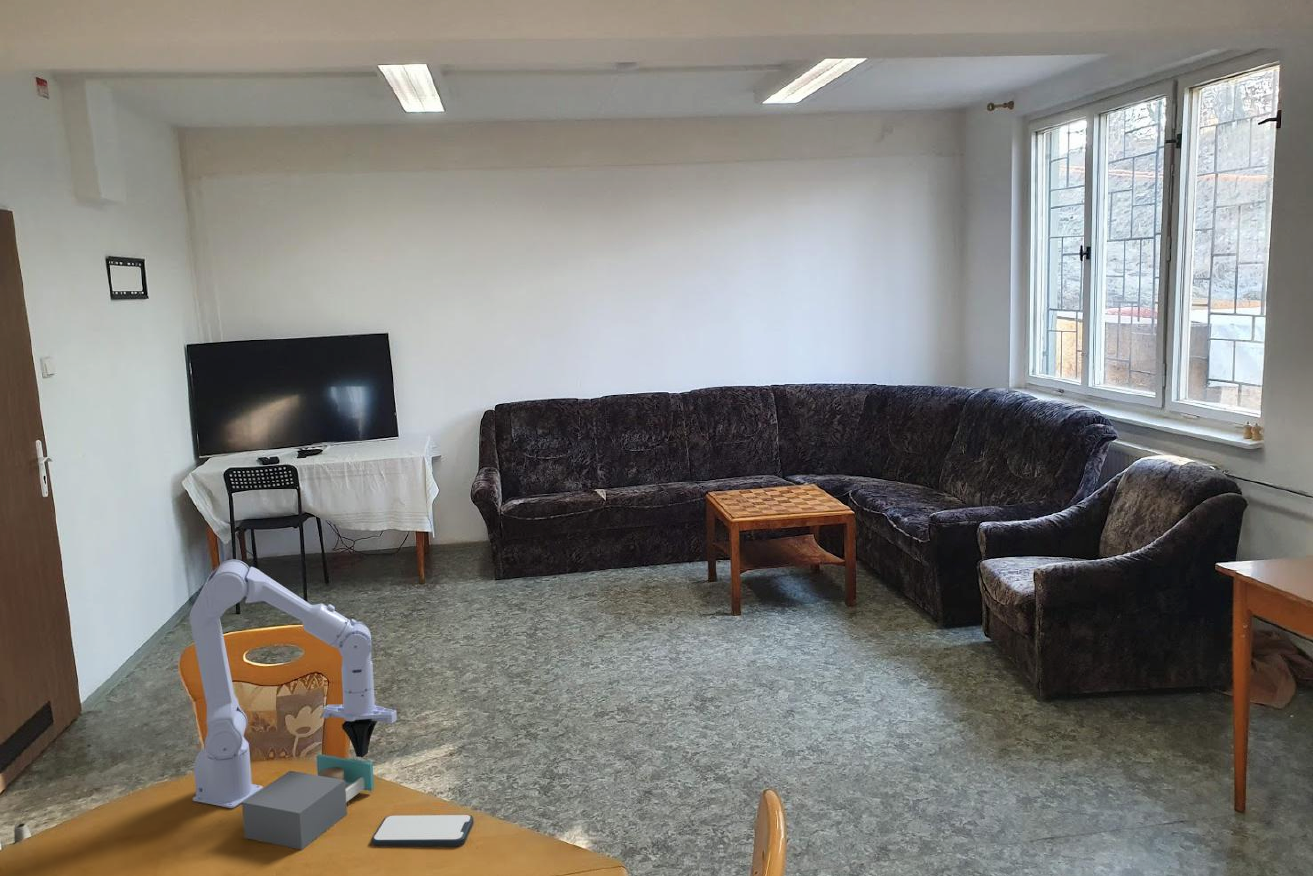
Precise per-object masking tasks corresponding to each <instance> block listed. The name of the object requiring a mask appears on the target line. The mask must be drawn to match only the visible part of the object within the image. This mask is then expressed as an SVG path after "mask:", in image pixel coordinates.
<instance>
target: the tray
mask: <svg viewBox="0 0 1313 876" xmlns="http://www.w3.org/2000/svg"><path fill="white" fill-rule="evenodd" d="M331 767H339V768H342V769H343V770H344V780H345V788H346V803H347V802H349V801H350V800H351V799H353V798H354V797H355V796H357V795H358V794H359V793H361V792H362V791H363V790H364V791H368V792H369V791H370V792H372V791H374V790H375V783H374V779H375V778H374V766H373V762H371V761H364V760H358V759H354V758H353V759H352V758H346V757H341V756H334V755H328V754H324V753H323V754H322V753H319V754H317V755H316V769H317V770H316V771H317V774H318V773H319V772H320V771H322V770H324V769H326V768H331Z"/></svg>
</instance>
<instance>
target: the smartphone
mask: <svg viewBox="0 0 1313 876" xmlns="http://www.w3.org/2000/svg"><path fill="white" fill-rule="evenodd" d="M473 826H474V817H473V815H471V814H402V815H401V814H399V815H396V814H395V815H394V814H392V815H388V816H386V817H384V818H383V819H382V821H381V823H380V824H379V826H378V827H377V829H376V830H375V832H374V833H373V836H372V837H371V845H372V846H374V847H389V848H390V847H391V848H392V847H393V848H395V847H398V848H399V847H400V848H401V847H404V848H408V847H409V848H423V847H424V848H458V847H462V846H463V845H465V843H466V841H467V839H468V836H469V834H470V832H471V830H472V828H473Z"/></svg>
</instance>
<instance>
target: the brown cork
mask: <svg viewBox="0 0 1313 876" xmlns="http://www.w3.org/2000/svg"><path fill="white" fill-rule="evenodd" d="M317 775H318V776H324V777H329V778H335V779H341V780H344V770H343V769H342V768H339V767H331V768H326V769H324V770H322V771H320V772H319V773H318V772H317Z"/></svg>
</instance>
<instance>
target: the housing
mask: <svg viewBox="0 0 1313 876" xmlns="http://www.w3.org/2000/svg"><path fill="white" fill-rule="evenodd" d="M241 808H242V823H243V835H244V839H249V840H254V841H259V842H263V843H268V844H272V845H278V846H283V847H287V848H288V847H289V848H293V849H298V850H301V851H303V849H304V848H306V847H308V846H309V845H310V844H311V843H313V842H314V841H315V840H316V839H318V838H319V837H320V836H321V835H323V834H324V833H326V832H327V831H328V830H329V829H330V828H332V827H333V826H334V825H335V824H337V823H338V822H339V821H341V820H342V819H343V818H344V817H345V816H347V815H348V809H347V802H346V788H345V780H341V779H335V778H329V777H324V776H318V774H312V773H306V772H300V771H294V770H289V771H287V772H286V773H284V774H283V775H281V776H279V777H277V779H274V780H273V781H272V782H271V783H269V784H267V785H266V786H264V787H263V789H261V790H260V791H258V792H257V793H255V794H254V795H252V796H251V797H249V798H248V799H246V800H244V801H243V802H242V803H241Z"/></svg>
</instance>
